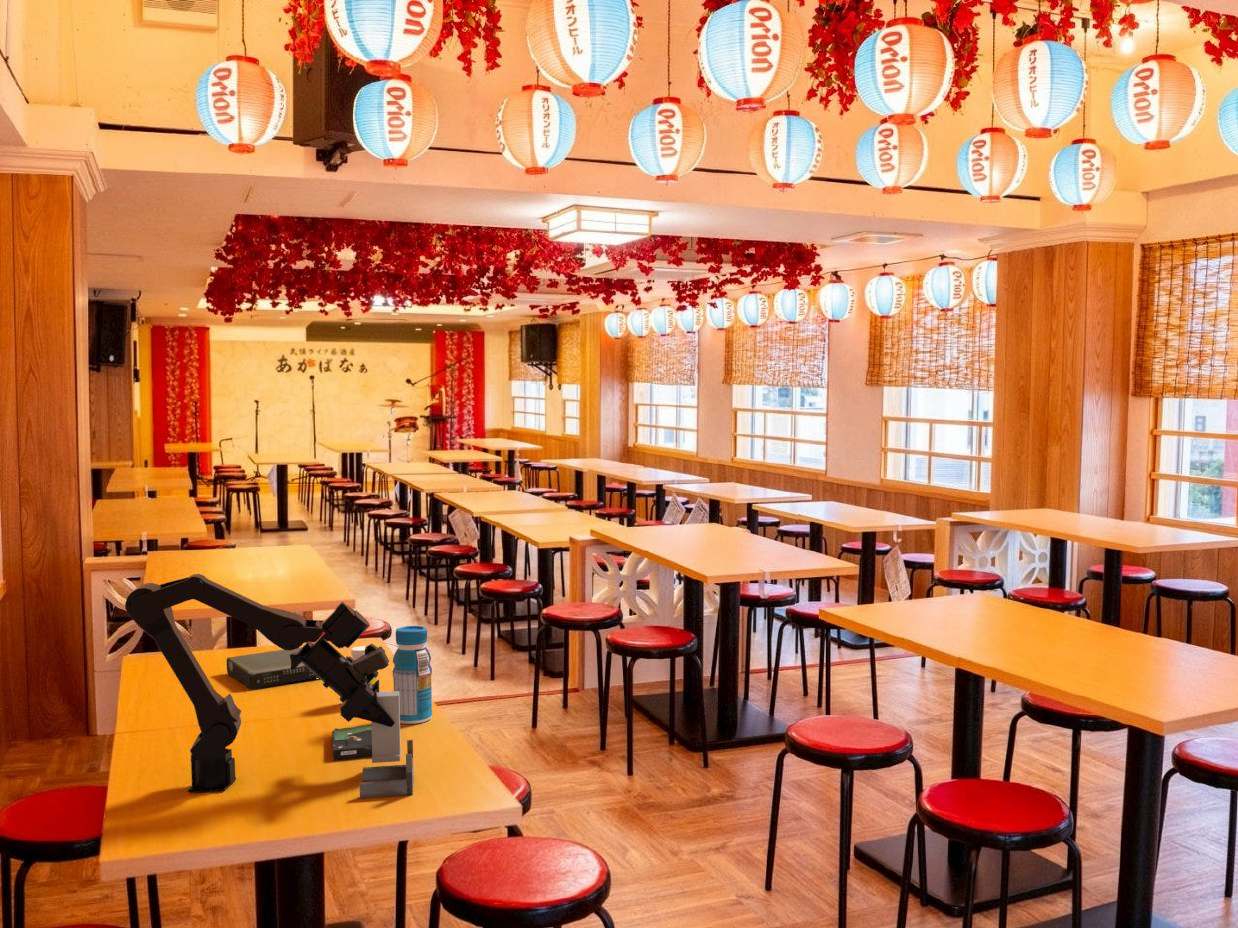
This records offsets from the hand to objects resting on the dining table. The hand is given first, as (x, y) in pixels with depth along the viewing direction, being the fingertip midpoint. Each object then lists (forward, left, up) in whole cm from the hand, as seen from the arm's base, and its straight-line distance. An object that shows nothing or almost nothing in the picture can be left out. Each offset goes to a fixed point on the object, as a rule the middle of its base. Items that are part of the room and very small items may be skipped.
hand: (393, 722), depth 197 cm
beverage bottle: (-3, +34, -9) cm, 35 cm away
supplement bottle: (-17, +47, -9) cm, 51 cm away
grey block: (-1, 0, -7) cm, 7 cm away
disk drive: (-10, +15, -10) cm, 21 cm away
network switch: (-45, +74, -10) cm, 88 cm away
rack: (0, -9, -9) cm, 13 cm away
